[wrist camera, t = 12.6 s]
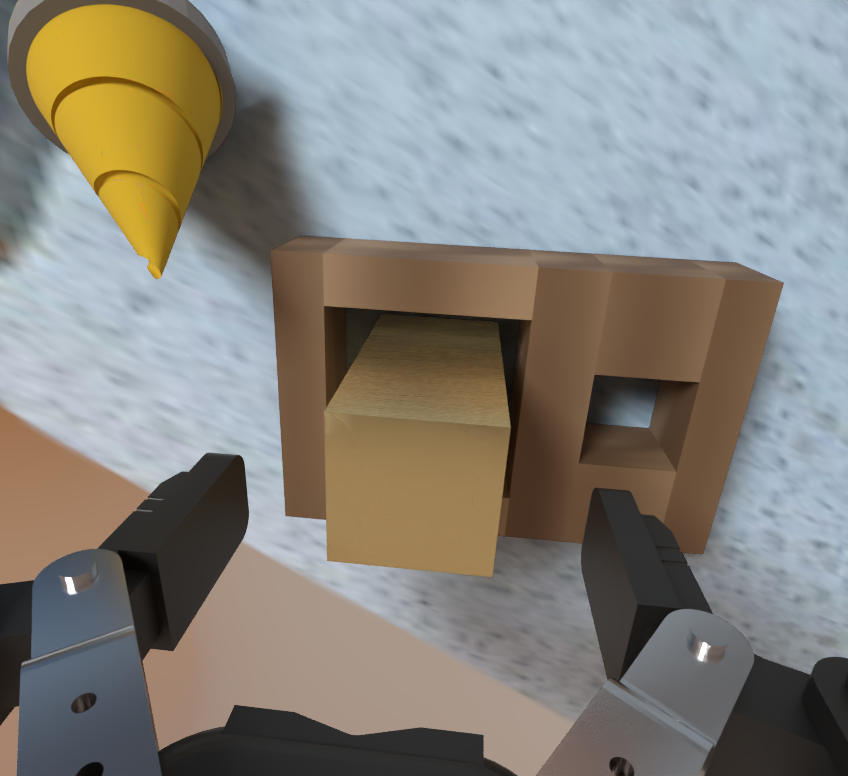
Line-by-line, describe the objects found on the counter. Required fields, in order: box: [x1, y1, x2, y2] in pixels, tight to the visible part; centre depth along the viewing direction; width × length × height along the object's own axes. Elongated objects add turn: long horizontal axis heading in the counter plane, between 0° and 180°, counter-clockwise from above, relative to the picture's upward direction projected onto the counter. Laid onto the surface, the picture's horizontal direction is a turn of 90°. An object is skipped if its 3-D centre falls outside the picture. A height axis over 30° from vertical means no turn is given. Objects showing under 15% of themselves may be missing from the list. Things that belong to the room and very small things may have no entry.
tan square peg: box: [324, 314, 511, 577], centre depth 16 cm, size 4×4×8 cm
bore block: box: [270, 236, 784, 554], centre depth 19 cm, size 14×9×3 cm, turn 87°
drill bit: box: [8, 0, 236, 279], centre depth 15 cm, size 5×5×10 cm
